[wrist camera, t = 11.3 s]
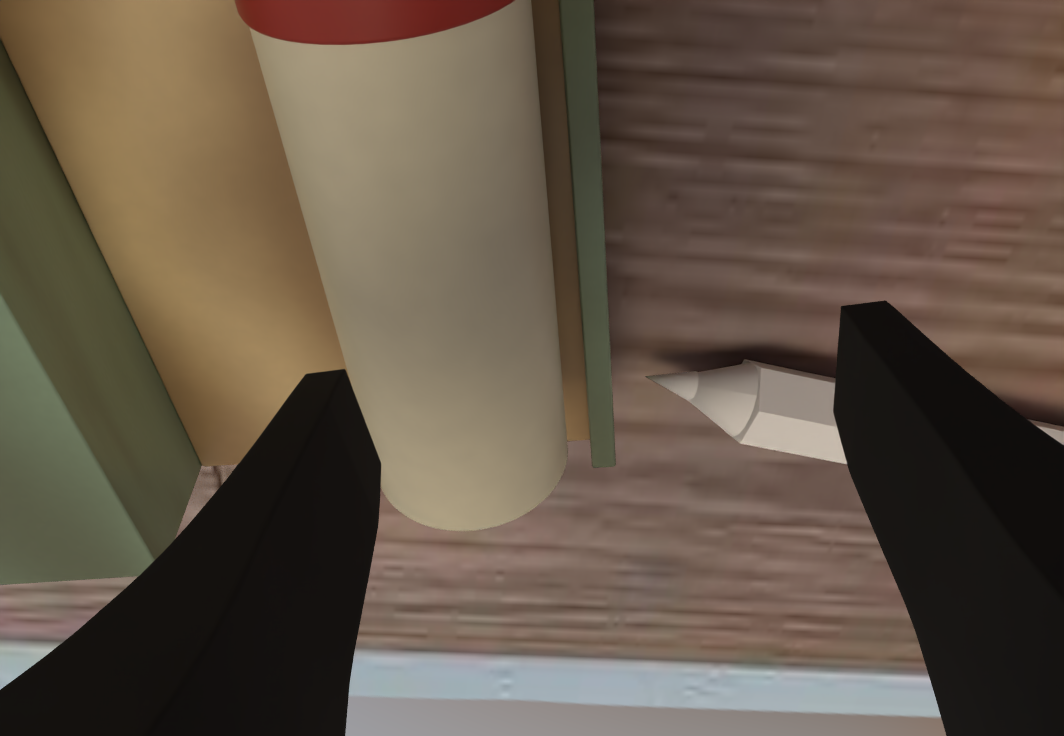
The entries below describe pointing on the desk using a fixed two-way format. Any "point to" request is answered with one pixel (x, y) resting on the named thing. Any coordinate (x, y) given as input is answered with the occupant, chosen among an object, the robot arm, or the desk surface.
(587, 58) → the tray with green block
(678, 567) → the desk surface
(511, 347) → the red-banded cream cylinder
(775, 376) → the marker
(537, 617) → the desk surface
